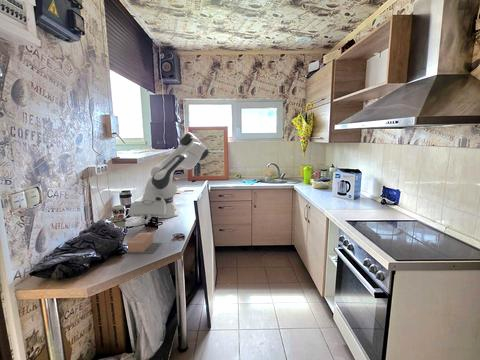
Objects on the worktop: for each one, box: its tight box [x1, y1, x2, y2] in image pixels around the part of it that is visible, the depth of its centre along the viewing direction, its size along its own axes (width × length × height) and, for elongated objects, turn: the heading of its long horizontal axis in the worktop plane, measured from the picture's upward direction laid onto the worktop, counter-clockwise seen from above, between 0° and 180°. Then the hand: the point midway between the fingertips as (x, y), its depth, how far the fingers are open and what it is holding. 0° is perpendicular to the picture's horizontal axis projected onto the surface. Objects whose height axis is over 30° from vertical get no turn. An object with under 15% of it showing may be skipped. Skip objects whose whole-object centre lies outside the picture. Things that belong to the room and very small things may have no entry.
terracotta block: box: [127, 232, 155, 252], centre depth 137 cm, size 5×8×14 cm
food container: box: [107, 217, 127, 229], centre depth 153 cm, size 12×6×10 cm, turn 141°
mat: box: [124, 242, 163, 255], centre depth 136 cm, size 14×18×1 cm
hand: (144, 223), depth 141 cm, fingers closed
